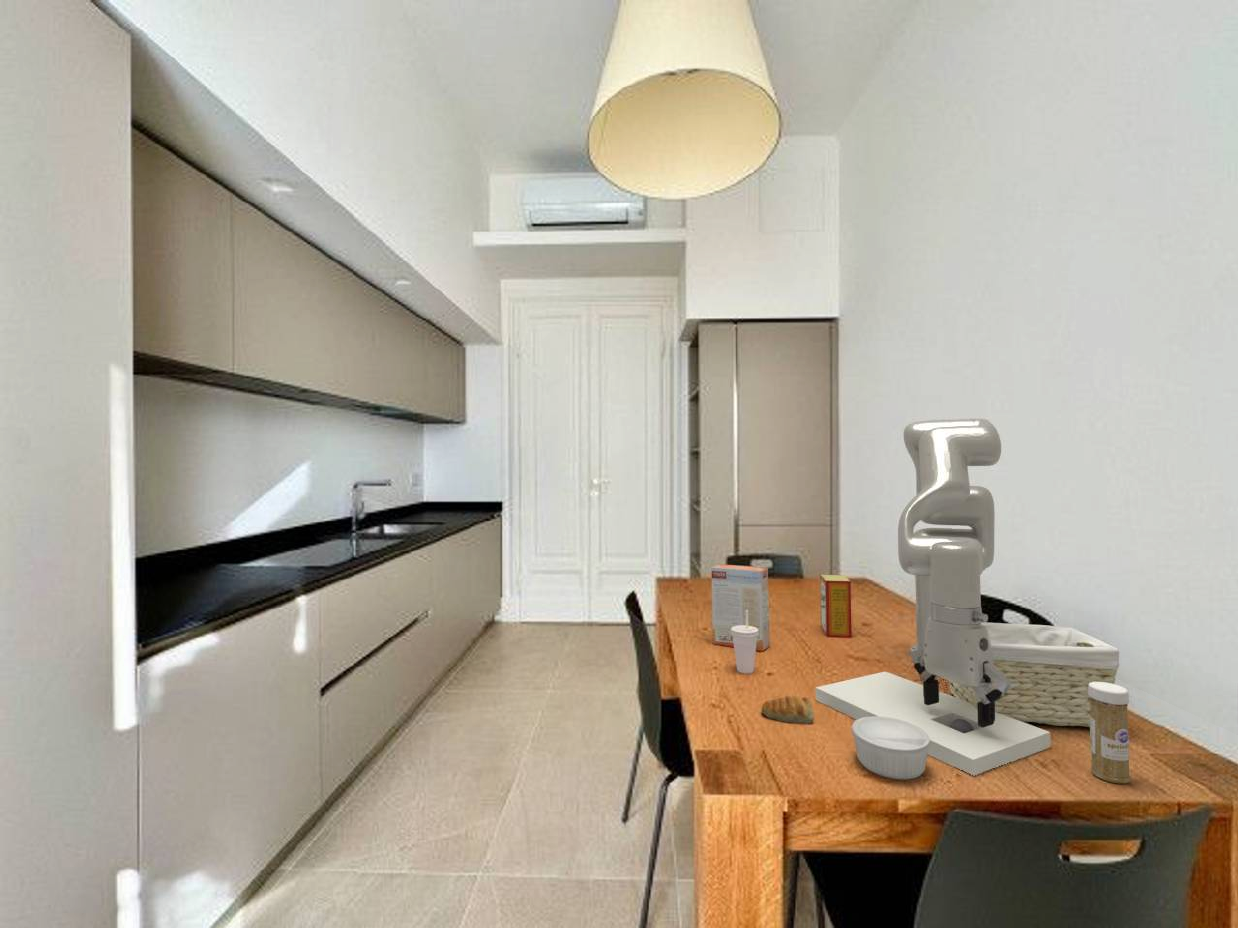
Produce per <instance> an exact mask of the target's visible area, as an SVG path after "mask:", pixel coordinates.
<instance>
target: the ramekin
mask: <svg viewBox="0 0 1238 928" xmlns="http://www.w3.org/2000/svg"><path fill="white" fill-rule="evenodd" d="M851 733H852V734H851V735H852V736H853V740H854V746H855V752H856V753H855V754H856V756H857V760H858V761H859V762H860V763H861V764H862V766H863V767H864V768H866V769H867V770H869V771H870V772H872V773H874V774H876V775H879V776H881V777H884V778H888V779H894V780H912V779H916V778H918V777H920V776H921V775H922V774H923V773H924V772H925V770H926V765H927V762H928V761H927V760H928V749H929V747H930V738H929V736H928V735H927V733H926V732H925V731H923V730H922V729H921V728H919V727H917V726H915V725H913V724H911V723H908V722H906V721H902V720H899V719H895V718H889V717H876V716H874V717H863V718H860V719H858V720H856V719H855V721H854V722H853V723H852V725H851Z"/></svg>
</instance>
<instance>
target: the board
mask: <svg viewBox="0 0 1238 928" xmlns="http://www.w3.org/2000/svg"><path fill="white" fill-rule="evenodd" d="M814 689H815V690H814V691H815V695H814V696H815V701H817V702H819V703H821V704H823V705H825V706H827V707H830V708H831V709H833V710H836V712H837V711H838V712H839V713H842V714H844V715H846V716H848V717H850V718H852V719H854V720H855V721H856V720H858V719H860V718H863V717H874V716H876V717H889V718H895V719H899V720H902V721H906V722H908V723H911V724H913V725H915V726H917V727H919V728H921V729H922V730H923V731H925V732H926V733H927V735H928V736H929V738H930V747H929V749H928V754H927V756H930V757H933V758H935V759H937V760H939V761H941V762H943V763H945V764H947V765H949V766H951V767H953V768H955V767H956V768H955V769H957V768H958V769H957V770H959V769H960V770H959V771H961V770H963V771H965V772H967V773H969V774H971V775H970V776H972V775H973V776H972V777H975V775H976V776H978V774H979V775H981V774H983V773H982V772H984V771H987V770H989V771H991V770H990V769H992V768H995V767H997V768H1000V767H1002V766H1001V765H1003V766H1005V765H1008V764H1010V763H1009V762H1011V763H1013V762H1015V761H1018V759H1019V760H1021V759H1024V758H1027V757H1028V756H1029V757H1030V756H1032V755H1033V754H1034V755H1035V754H1037V753H1039V752H1042V751H1045V750H1048V749H1050V748H1051V745H1052V744H1051V731H1048V730H1046V729H1043V728H1040V727H1037V726H1034V725H1032V724H1029V723H1028V722H1021V721H1018V720H1016V719H1013V718H1010V717H1008V716H1005V715H1002V714H999V713H997V712H995V721H994V724H993V725H990V726H987V727H980V726H979V725H978V709H977V708H975V706H974V705H973V704H972V703H969V702H967V701H964V700H961V699H959V698H956V697H955V696H954V695H953V696H952V695H950V694H947V693H944V692H942V691H940V690H939V702H938V703H935V704H932V705H925V704H924V696H923V684H920V683H917V682H915V681H912V680H909V679H907V678H904V677H901V676H898V675H895V674H893V673H890V672H888V671H882V672H876V673H873V674H868V675H864V676H860V677H859V676H858V677H856V678H851V679H847V680H842V681H838V682H833V683H828V684H823V685H821V686H816V687H814ZM956 719H963V720H966V721H967V722H969V723H970V724H971V725H972V727H973V729H974V730H973V731H970V732H967V733H962V732H959V731H957V730H954V729H952V728H950V725H951V723H952V722H953V721H954V720H956ZM1007 763H1008V764H1007ZM1004 764H1005V765H1004ZM999 766H1000V767H999ZM995 769H996V768H995ZM992 770H993V769H992ZM963 771H962V772H963ZM965 772H964V773H965ZM987 772H988V771H987ZM967 773H966V774H967ZM980 773H981V774H980ZM984 773H985V772H984ZM969 774H968V775H969Z"/></svg>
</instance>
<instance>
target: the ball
mask: <svg viewBox="0 0 1238 928" xmlns="http://www.w3.org/2000/svg"><path fill="white" fill-rule="evenodd" d="M950 728H952V729H954V730H957V731H959V732H962V733H967V732H970V731H973V730H974V729H973V727H972V725H971V724H970V723H969V722H967V721H966V720H963V719H956V720H954V721H953V722H952V723H951V725H950Z"/></svg>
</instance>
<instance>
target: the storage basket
mask: <svg viewBox="0 0 1238 928" xmlns="http://www.w3.org/2000/svg"><path fill="white" fill-rule="evenodd" d="M981 625H984V626H986V627H987V630H988V634H989V637H990V642H991V647H992V653H993V661H994V668H995V669H996V670H998V671H999V672H1000V673H1001V674H1003V675H1004V676H1005V677H1006V678H1008V679H1009V680H1010V681H1011V686H1010V687H1009V689H1008V691H1007V692H1006V695H1005V696H1003V697H1002V698H1000V699H999V700H998V701H995V712H997V713H999V714H1002V715H1005V716H1008V717H1010V718H1013V719H1016V720H1018V721H1021V722H1024V723H1037V724H1046V725H1049V726H1059V727H1063V726H1064V727H1066V726H1071V727H1075V726H1078V727H1079V726H1080V727H1085V728H1090V699H1089V697H1090V696H1089V695H1088V685H1089V683H1091V682H1106V683H1111V684H1115V683H1116V676H1117V672H1118V670H1119V668H1120V651H1119V649H1118V648H1117V647H1115V646H1114V645H1113V646H1112V645H1110V644H1108V643H1106V642H1104V641H1102V640H1100V639H1098V638H1096V637H1094V636H1091V635H1089V634H1086V633H1085V632H1081V631H1080V630H1078V629H1076V628H1073V627H1064V626H1063V627H1062V626H1054V625H1045V624H1044V625H1043V624H1031V623H1030V624H1029V623H1028V624H1027V623H1025V624H1024V623H1002V622H1001V623H1000V622H988V621H987V622H982V623H981ZM948 684H949V685H948V688H949V691H950V693H951V695H953V697H956V698H959V699H961V700H964V701H967V702H969V703H972V704H973V705H974V706H975V708H977V709H978V707H977V704H978V702H980V701H981V700H980V698H979V697H978V695H977V694H976V692H975V691H974V689H973V688H970V687H967V686H964V685H961V684H958V683H955V682H952V681H949V680H948ZM990 685H991V687H992V688H993V690H994V689H995V688H996V682H995V681H994V683H993V684H990ZM983 690H984V689H983ZM985 693H986V692H985Z"/></svg>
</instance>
